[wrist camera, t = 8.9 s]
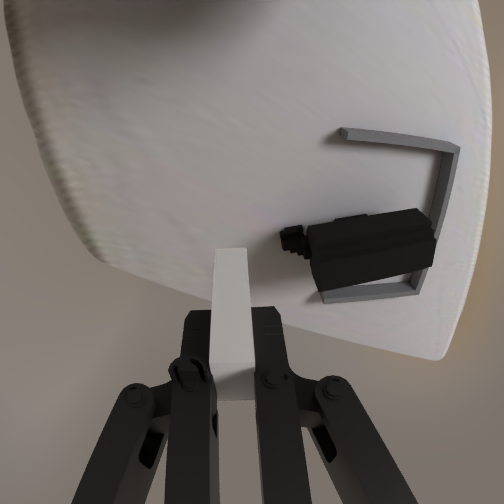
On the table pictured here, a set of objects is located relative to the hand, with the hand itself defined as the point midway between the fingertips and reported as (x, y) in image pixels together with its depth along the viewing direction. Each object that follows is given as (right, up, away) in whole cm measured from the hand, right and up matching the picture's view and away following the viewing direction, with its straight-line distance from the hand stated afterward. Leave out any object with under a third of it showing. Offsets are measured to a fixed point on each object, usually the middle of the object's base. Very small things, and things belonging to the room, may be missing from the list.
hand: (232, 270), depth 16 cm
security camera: (+14, +5, +26) cm, 29 cm away
